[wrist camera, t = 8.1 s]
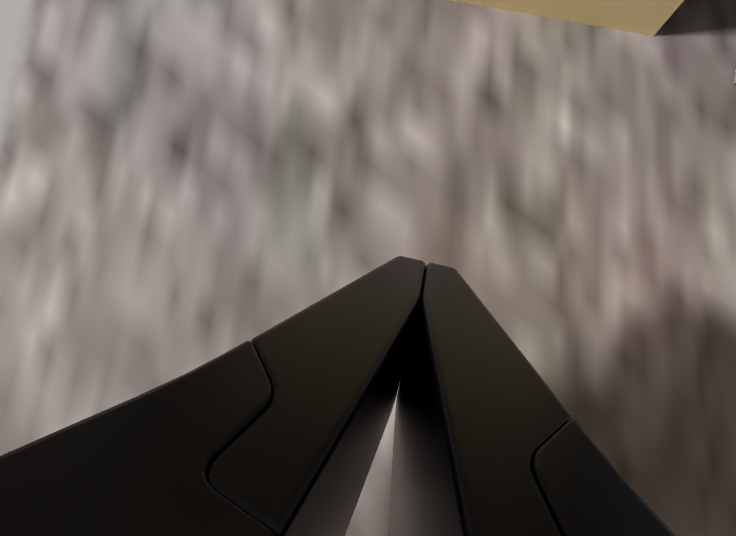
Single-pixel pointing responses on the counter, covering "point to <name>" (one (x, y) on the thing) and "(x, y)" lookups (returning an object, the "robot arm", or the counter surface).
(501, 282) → the counter surface
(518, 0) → the oat carton
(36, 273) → the counter surface
